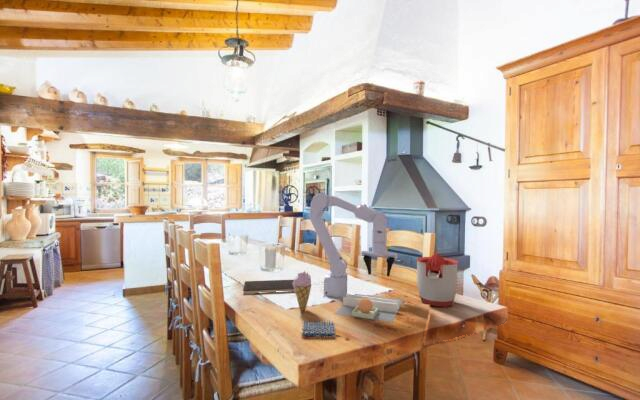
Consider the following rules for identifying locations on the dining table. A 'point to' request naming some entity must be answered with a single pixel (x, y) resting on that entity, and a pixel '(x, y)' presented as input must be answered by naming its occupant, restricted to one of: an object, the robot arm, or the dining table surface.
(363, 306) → the ball
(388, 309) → the grey ridged board
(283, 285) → the hardcover book
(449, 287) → the citrus juicer
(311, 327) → the woven mat
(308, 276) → the ice cream cone
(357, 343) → the dining table surface
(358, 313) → the dish
